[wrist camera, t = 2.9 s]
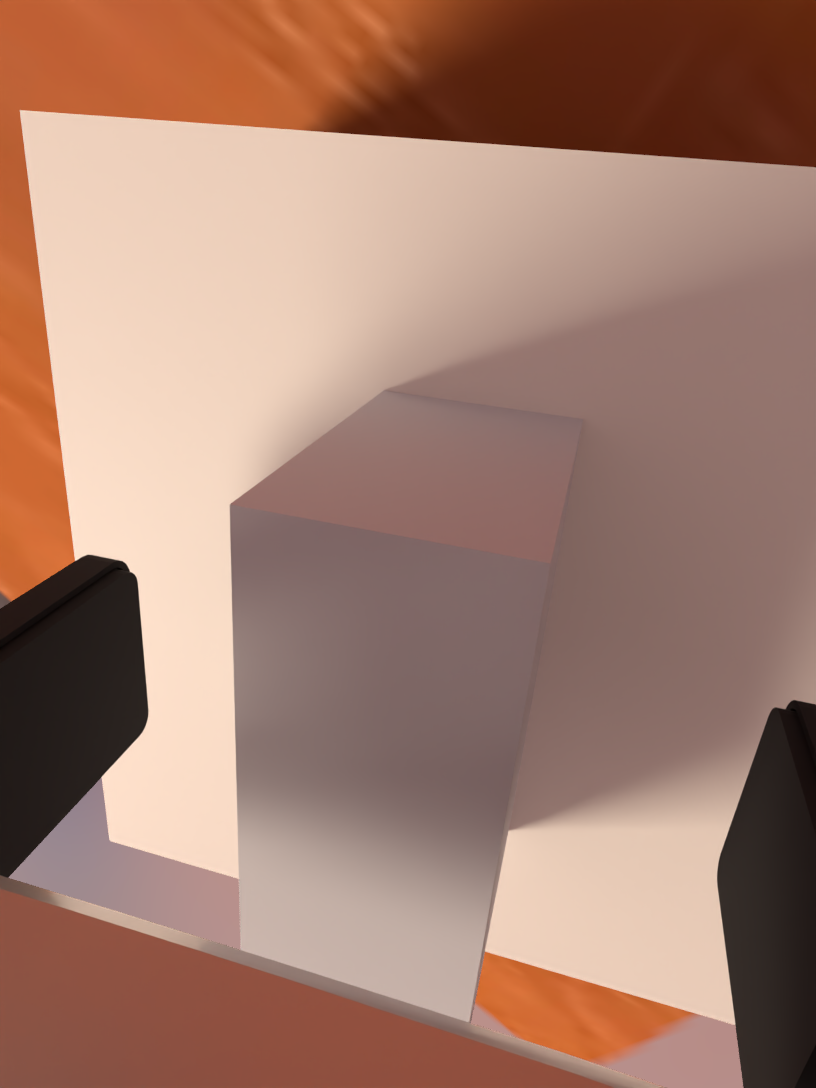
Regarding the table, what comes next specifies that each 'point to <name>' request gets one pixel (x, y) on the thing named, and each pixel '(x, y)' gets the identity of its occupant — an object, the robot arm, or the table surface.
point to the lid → (441, 529)
